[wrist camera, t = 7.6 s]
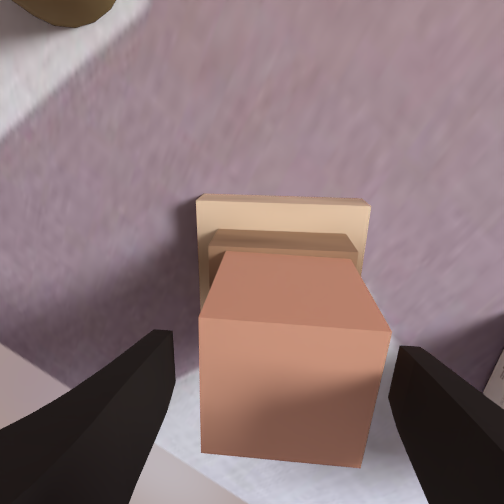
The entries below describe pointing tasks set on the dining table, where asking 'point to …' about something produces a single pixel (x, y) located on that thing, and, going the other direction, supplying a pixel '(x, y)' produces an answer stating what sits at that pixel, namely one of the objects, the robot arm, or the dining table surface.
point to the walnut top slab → (278, 245)
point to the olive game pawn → (67, 10)
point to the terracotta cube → (289, 359)
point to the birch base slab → (277, 221)
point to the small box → (496, 383)
